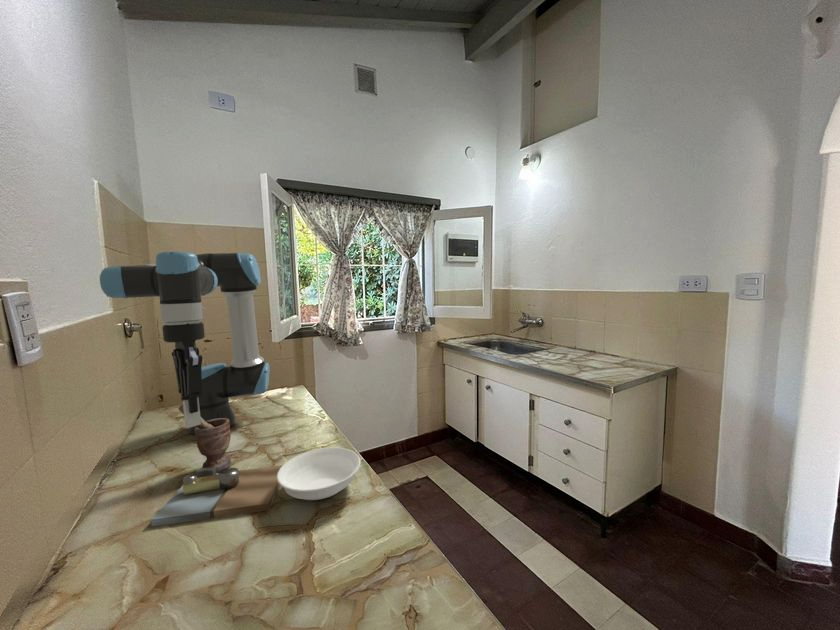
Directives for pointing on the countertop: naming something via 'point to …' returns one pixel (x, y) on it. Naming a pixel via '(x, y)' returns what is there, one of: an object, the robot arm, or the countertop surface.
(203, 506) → the board
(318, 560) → the countertop surface
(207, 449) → the mortar and pestle
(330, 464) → the bowl
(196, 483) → the swing bar
